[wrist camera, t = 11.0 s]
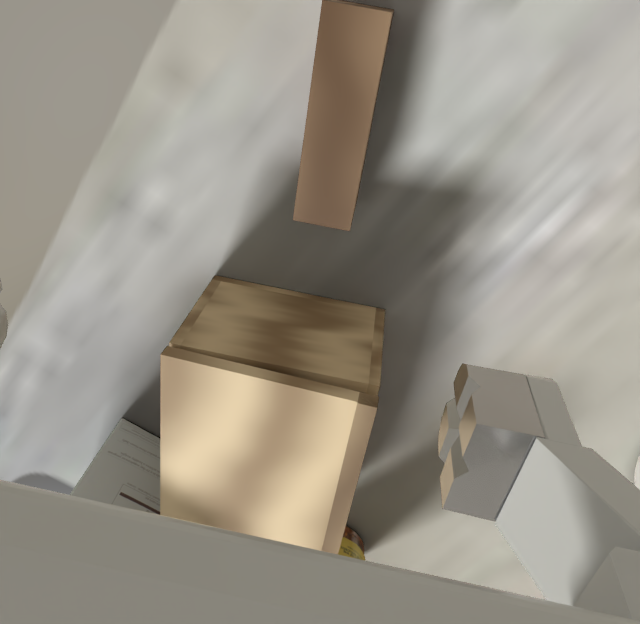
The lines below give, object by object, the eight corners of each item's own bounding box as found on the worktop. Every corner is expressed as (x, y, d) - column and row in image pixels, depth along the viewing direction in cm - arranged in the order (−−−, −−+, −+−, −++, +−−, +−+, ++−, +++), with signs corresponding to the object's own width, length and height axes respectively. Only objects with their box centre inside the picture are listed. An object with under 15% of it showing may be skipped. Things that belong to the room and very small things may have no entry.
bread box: (385, 309, 35) (380, 386, 28) (341, 486, 44) (329, 578, 37) (214, 275, 36) (169, 342, 29) (204, 457, 44) (166, 542, 37)
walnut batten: (394, 9, 27) (392, 12, 23) (356, 202, 32) (349, 231, 28) (334, -2, 27) (322, -1, 23) (306, 192, 32) (292, 219, 28)
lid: (379, 396, 28) (377, 407, 27) (327, 590, 36) (324, 603, 35) (167, 345, 29) (159, 355, 28) (165, 546, 37) (159, 557, 36)
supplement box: (121, 413, 43) (-22, 626, 29) (224, 469, 45) (137, 697, 30) (82, 480, 48) (-58, 692, 33) (176, 528, 49) (81, 751, 35)
